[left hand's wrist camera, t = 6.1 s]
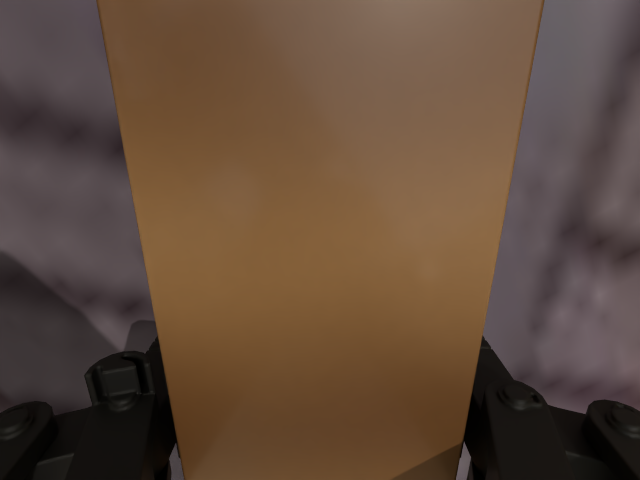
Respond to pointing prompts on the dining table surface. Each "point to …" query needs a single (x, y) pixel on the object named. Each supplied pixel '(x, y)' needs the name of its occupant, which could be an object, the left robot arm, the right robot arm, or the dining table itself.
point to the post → (320, 220)
